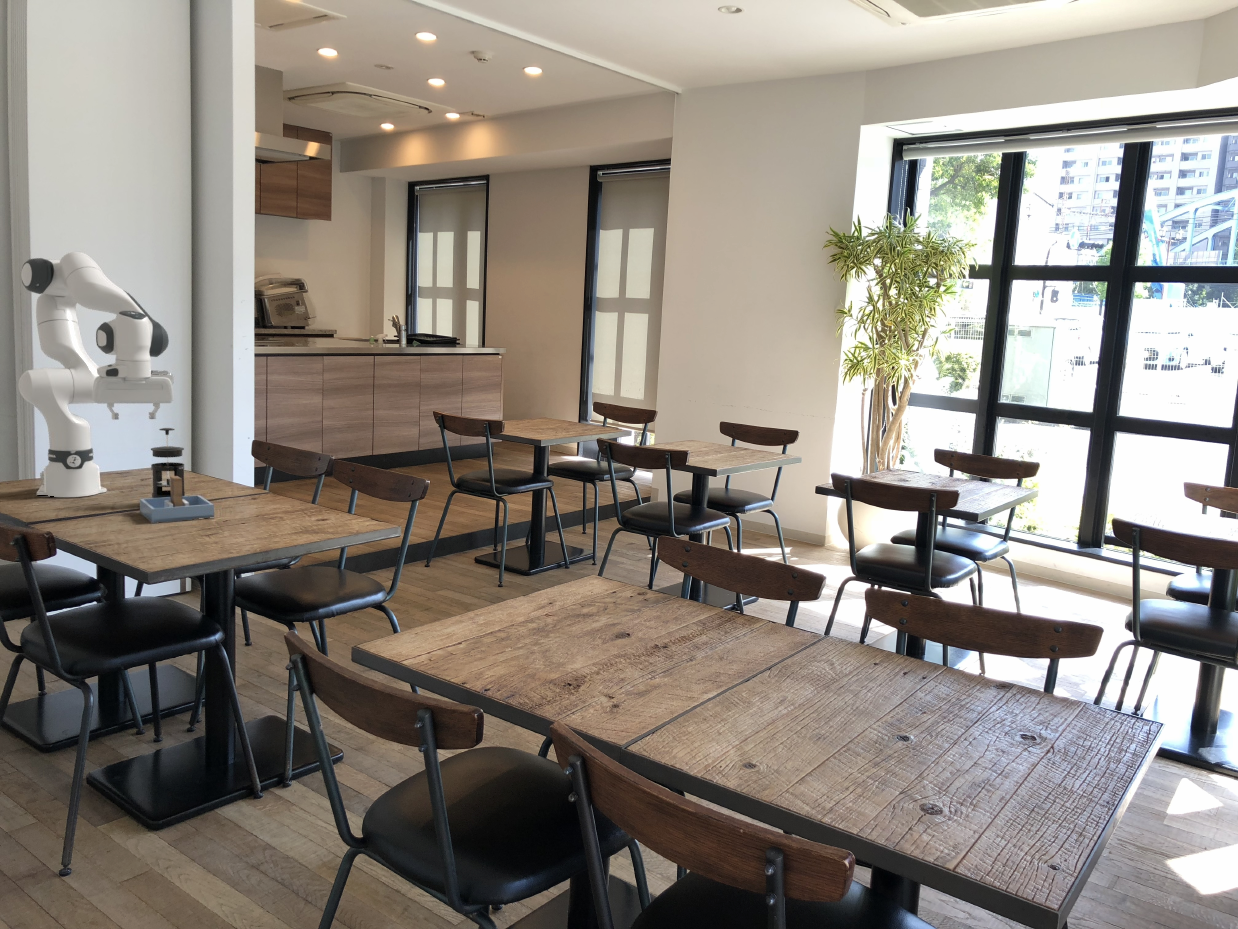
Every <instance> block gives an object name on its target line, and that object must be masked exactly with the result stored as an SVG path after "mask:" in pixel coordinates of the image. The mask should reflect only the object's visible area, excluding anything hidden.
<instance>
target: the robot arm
mask: <svg viewBox="0 0 1238 929" xmlns="http://www.w3.org/2000/svg"><path fill="white" fill-rule="evenodd" d="M20 278H21V283H22V285H23V286H24V288H25V289H26V290H27V291H28V292H31V293H35V294H38V295H39V296H38V297H37V299H36V304H35V305H36V308H35V314H36V327H37V332H38V338H39V346H40V350H41V351H42V353H43V354H44V355H45V356H46V357H48V358H50V359H52V360H54V361H57V362H59V363H60V364H61V365H62V366H63V367H41V368H34V369H29V370H25V371H24V372H23V373H22V374H21V376H20V377H19V380H18V391H19V393H20V396H21V397H22V398H23V399H24V400H25V401H26V402H27V403H29V404H31V405H32V406H34V407H35V408H37V410H38V411H39V412H40V414H42V416H43V417H44V420H45V422H46V426H47V432H48V442H49V444H48V445H49V448H48V450H47V451H48V452H47V461H48V464H47V465H46V466H45V468H43V470H42V471H41V472H40V474H39V475H40V476H39V478H40V481H41V480H42V482H41V485H40V487H39V489H38V490H37V491H36V496H37V495H48V496H47V497H50V496H54V497H53V498H80V497H88V496H94V495H97V494H101V493H106V492H108V491H107V488H106V487H103V486H101V476H100V474H101V473H100V467H99V465H98V464H96V463H95V462H94V449H93V447H92V437H91V436H92V435H91V434H92V433H91V431H92V430H91V425H90V423H89V421H88V420H86V419H85V418H83V417H81V416H79V415H77V414H74V413H72V412H70V409H69V405H73V404H74V405H76V404H80V405H81V404H83V405H84V404H106V407H107V409H108V410H109V412H110V413H111V419H112V421H113V420H114V421H115V420H119V419H120V418H119V412H115V410H114V409H113V408H115V404H152V406H153V409H152V411H151V412H150V411H149V412H148V419H149V420H157V413H158V411H159V409H160V408H161V404H171V403H172V402H174V400H175V399H174V398H175V397H174V389H173V386H174V380H175V378H174V377H175V376H174V375H173V374H172V372H169V371H168V370H152V358H151V357H153V358H159V357H160V356H162V354H163V353H164V352H165V351H166V350H167V349H168V347H169V342H170V341H169V335H168V332H167V330H166V329H165V328H164V326H163V325H162V324H160V323H159V322H157V321H156V320H155V319H153V317H152V316H151V315H150V314H149V313H148V312H147V311H146V310H145V308H143V307H142V305H141V304H140V303H139V301H137V300H136V299H135V298H134V297H133V295H131V294H130V293H129V292H127V291H126V290H124V289H122V288H121V287H119V286H118V285H116V284H115V283H114V282H113V281H112V280H110V279H109V278H108V276H106V275H105V273H104V270H102V268H101V267H100V266H99V264H97V262H96V261H95V260H94V259H93V258H92V257H91V256H90V255H88V254H87V253H85V252H81V251H71V252H68V253H66V254H65V255H63V257H61V258H60V259H50V258H49V259H45V258H42V257H40V258H39V257H38V258H37V257H36V258H29V259H27V261H25V262H24V264H23V265H22V267H21V274H20ZM77 304H78V305H79V306H81V307H82V308H85V309H88V310H92V311H99V312H105V313H110V314H114V315H115V316H116V317H115V318H113V319H112V320H109V321H103V323H101V324H100V325H99V326H98V327H97V329H96V331H95V332H96V333H95V337H96V338H95V341H96V343H95V344H96V346H97V347H98V349H99V350H100V351H101V352H102V353H104V354H105V355H110V356H115V361H114V363H111V364H107V365H103V366H99V365H98V364H97V363H96V362H95V361H94V360H93V359H91V357H90V356H89V354H88V353H87V350H86V349H85V347H84V343H83V339H82V336H81V331H80V329H81V328H80V325H79V320H78V315H77V310H76V306H77Z"/></svg>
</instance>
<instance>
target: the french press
mask: <svg viewBox="0 0 1238 929" xmlns="http://www.w3.org/2000/svg"><path fill="white" fill-rule="evenodd" d="M158 430H159V431H165V432H164V433H165V436H166V446H164V445H162V446H159V447H158V446H157V447H156V446H155V447H152V448H150V450H151V451H152V457H154V458H166V462H157V463H152V464H150V465H151V466H150V468H151V471H152V492H151V498H162V497H171V491H170V489H169V490H168V489H167V490H163V488H170V474H169V473H170V472H173V473H174V474H173V476H178V477H180V478H182V496H186V492H185V463H183V462H170V461H169V458H179V457H183V451H184V450H185V448H184V447H180V446H173V445H172V446H171V445H170V446H169V435H170V431H175V428H171V427H162V428H159V429H158ZM163 472H167V473H166V474H167V478H166V480H163Z"/></svg>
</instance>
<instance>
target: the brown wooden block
mask: <svg viewBox="0 0 1238 929" xmlns="http://www.w3.org/2000/svg"><path fill="white" fill-rule="evenodd" d="M169 479H170V487H169V488H170V489H169V490H170V491H171V503H172V504H173V507H180V506H183V503H182V478H180V477H178V476H174V475H173V476H170V475H169Z"/></svg>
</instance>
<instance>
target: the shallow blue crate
mask: <svg viewBox="0 0 1238 929" xmlns="http://www.w3.org/2000/svg"><path fill="white" fill-rule="evenodd" d="M182 503H183V506H180V507H173V504H172V503H171V497H162V498H152V497H150V498H149V497H148V498H139V513H140V514H141V515H142V516H143V517H145V519H146V520H148V521H149V522H150V523H151V522H152V523H151V524H158V523H157V522H164V523H173V521H176V522H183V521H182V520H188V521H193V520H192V519H199V518H210V517H214V518H215V504H214V503H212V502H211V501H209V500H207V499H206V498H205V497H203V496H202V495H200V494H197V495H196V494H195V495H194V494H193V495H185V496H182Z"/></svg>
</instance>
